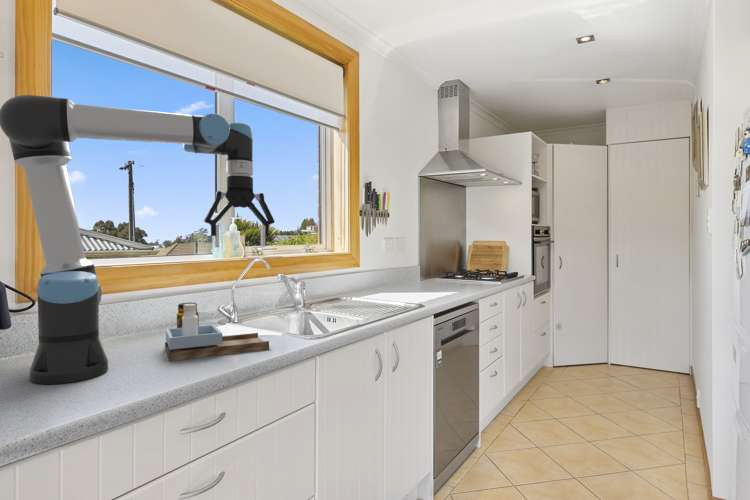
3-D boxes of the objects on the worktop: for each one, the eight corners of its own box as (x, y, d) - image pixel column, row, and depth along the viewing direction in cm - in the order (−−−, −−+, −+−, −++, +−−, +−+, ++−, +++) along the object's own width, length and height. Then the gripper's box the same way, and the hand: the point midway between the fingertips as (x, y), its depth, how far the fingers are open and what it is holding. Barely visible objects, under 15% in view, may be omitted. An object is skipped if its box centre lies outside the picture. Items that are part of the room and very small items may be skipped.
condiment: (174, 346, 133) (173, 305, 132) (177, 340, 141) (177, 301, 140) (200, 345, 135) (200, 304, 135) (202, 338, 143) (202, 300, 143)
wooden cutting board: (169, 361, 117) (168, 352, 117) (165, 349, 129) (164, 341, 129) (269, 349, 130) (269, 341, 130) (257, 339, 142) (257, 332, 141)
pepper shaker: (182, 338, 127) (181, 304, 127) (197, 336, 129) (197, 303, 128) (182, 341, 124) (181, 306, 123) (198, 339, 125) (197, 305, 125)
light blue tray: (169, 356, 118) (169, 338, 117) (166, 345, 129) (165, 328, 129) (222, 350, 124) (222, 332, 124) (214, 340, 135) (214, 324, 135)
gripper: (197, 171, 128) (198, 247, 128) (284, 177, 140) (284, 246, 140) (193, 175, 134) (194, 247, 135) (277, 180, 146) (277, 246, 147)
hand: (240, 247), depth 138 cm, fingers open, 13 cm apart
